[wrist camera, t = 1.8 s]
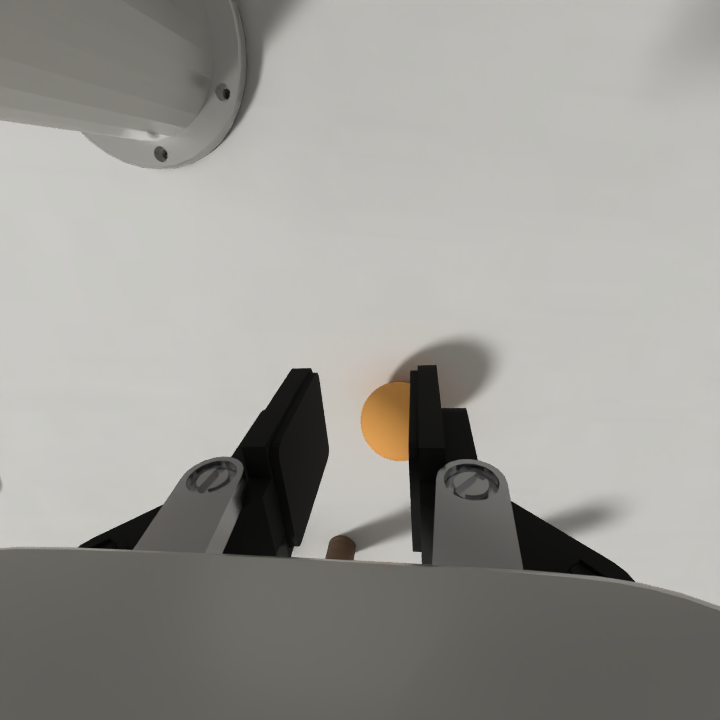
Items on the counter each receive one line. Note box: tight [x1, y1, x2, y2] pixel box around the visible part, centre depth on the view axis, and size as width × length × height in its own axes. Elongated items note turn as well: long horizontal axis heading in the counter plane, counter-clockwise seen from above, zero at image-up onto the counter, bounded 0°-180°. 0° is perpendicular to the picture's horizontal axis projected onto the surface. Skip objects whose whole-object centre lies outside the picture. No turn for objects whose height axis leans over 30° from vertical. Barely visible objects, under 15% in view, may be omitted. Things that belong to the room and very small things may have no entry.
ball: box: [361, 382, 410, 461], centre depth 29 cm, size 6×6×6 cm
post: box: [325, 536, 356, 560], centre depth 35 cm, size 3×3×9 cm
